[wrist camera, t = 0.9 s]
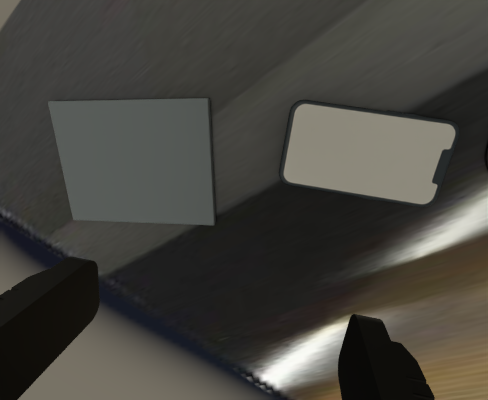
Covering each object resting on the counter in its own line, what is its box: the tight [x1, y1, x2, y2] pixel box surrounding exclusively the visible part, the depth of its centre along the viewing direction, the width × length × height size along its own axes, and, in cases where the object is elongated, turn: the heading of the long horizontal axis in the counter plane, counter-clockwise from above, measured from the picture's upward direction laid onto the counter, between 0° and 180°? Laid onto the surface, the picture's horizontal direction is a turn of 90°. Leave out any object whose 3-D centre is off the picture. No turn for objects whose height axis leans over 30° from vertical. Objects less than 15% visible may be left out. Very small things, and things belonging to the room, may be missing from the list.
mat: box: [48, 98, 216, 225], centre depth 33 cm, size 18×14×1 cm
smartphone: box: [279, 100, 460, 207], centre depth 29 cm, size 9×2×16 cm
